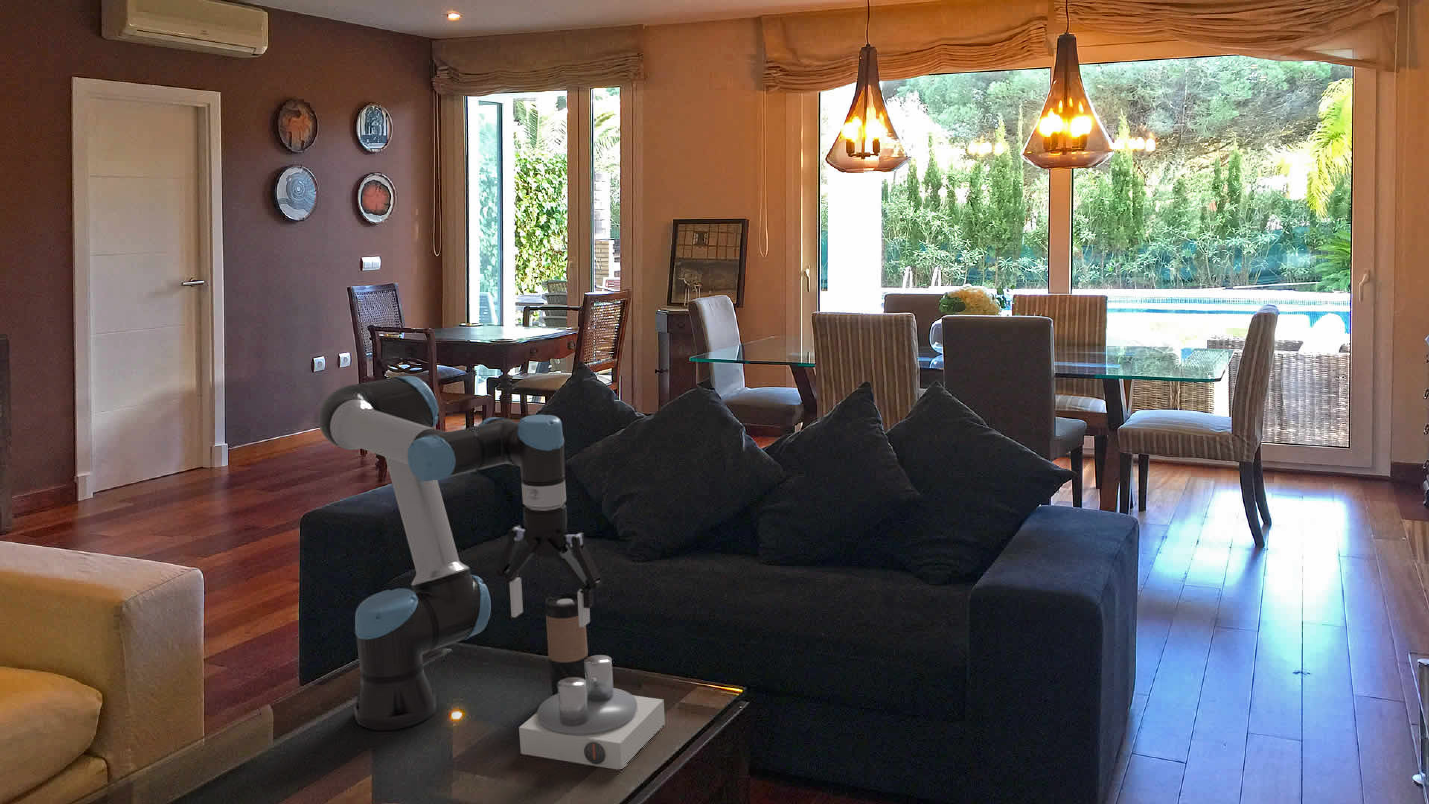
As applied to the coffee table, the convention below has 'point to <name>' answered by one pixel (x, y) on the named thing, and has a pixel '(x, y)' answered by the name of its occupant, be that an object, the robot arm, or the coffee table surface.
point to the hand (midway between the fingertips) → (550, 619)
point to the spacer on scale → (599, 678)
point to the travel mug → (565, 639)
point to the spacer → (572, 701)
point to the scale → (594, 731)
